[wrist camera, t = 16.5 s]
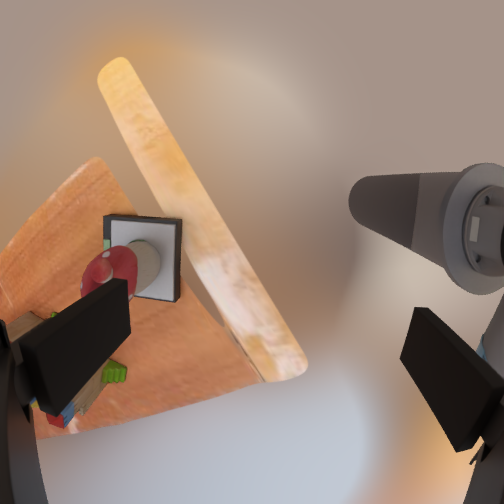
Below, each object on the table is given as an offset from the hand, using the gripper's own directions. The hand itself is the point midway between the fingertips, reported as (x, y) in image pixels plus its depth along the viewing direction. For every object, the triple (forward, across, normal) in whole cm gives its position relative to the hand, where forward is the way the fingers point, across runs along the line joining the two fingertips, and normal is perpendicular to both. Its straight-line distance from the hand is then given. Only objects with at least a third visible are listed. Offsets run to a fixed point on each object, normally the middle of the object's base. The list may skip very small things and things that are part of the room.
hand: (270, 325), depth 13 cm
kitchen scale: (+31, -19, -6) cm, 37 cm away
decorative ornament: (+28, -18, -6) cm, 34 cm away
